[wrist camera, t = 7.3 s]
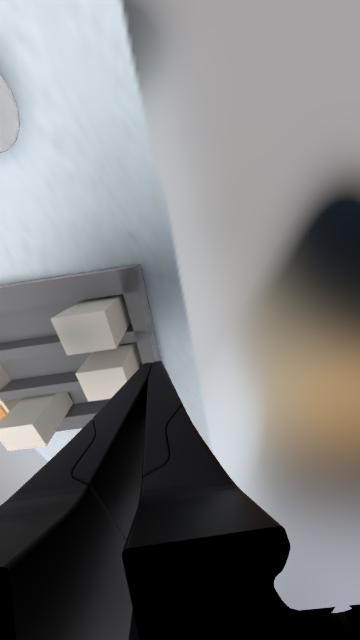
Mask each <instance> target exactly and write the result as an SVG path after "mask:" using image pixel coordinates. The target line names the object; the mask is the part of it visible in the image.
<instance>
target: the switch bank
mask: <svg viewBox="0 0 360 640" xmlns="http://www.w3.org/2000/svg"><path fill="white" fill-rule="evenodd" d="M119 294H123V295H124V299H125V303H126V306H127V310H128V314H129V318H130V321H131V323H130V325H129V326H128V328H127V330H126V332H125V334H124V336H123V337H122V339H121V341H120V343H119V344H125V343H132V342H136V343H137V347H138V351H139V355H140V358H141V363H140V367H141V366H142V365H143V364H144V363H148V362H152V363H153V362H155V361H161V358H160V353H159V349H158V344H157V339H156V335H155V330H154V326H153V321H152V316H151V312H150V307H149V303H148V298H147V293H146V289H145V284H144V280H143V275H142V270H141V266H140V264H136V265H130V266H123V267H116V268H110V269H103V270H96V271H90V272H83V273H77V274H70V275H63V276H57V277H50V278H43V279H37V280H30V281H23V282H17V283H10V284H4V285H0V420H1V419H2V418H3V417H4V416H5V415H6V414H7V413H8V412H9V411H10V410H11V409H12V408H13V407H14V406H15V405H16V404H17V403H18V402H19V401H20V400H21V399H22V398H27V397H34V396H41V395H48V394H55V393H62V392H68V394H69V396H70V398H71V400H72V402H73V405H72V406H71V408H70V409H69V411H68V413H67V414H66V416H65V417H64V419H63V420H62V422H61V424H60V425H59V427H58V428H57V430H56V431H63V430H71V429H78V428H83V427H84V426H85V425H86V424H87V423H88V422H89V421H90V420H91V419H93V417H94V416H95V415H96V414H97V413H98V412H99V411H100V409H101V408H102V407H103V406H104V405H105V404H106V403H107V402H108V401H109V400H110V399H104V400H97V401H90V402H88V400H87V398H86V396H85V394H84V391H83V389H82V387H81V385H80V383H79V381H78V378H77V376H76V374H75V373H76V372H77V371H78V369H79V368H80V367H81V365H82V364H83V363H84V361H85V360H86V359H87V358H88V356H89V355H90V354H91V352H88V353H81V354H74V355H67V354H66V352H65V350H64V348H63V346H62V343H61V341H60V339H59V337H58V335H57V332H56V330H55V328H54V326H53V324H52V322H51V318H53V317H54V316H56V315H58V314H59V313H61V312H63V311H64V310H66V309H68V308H69V307H71V306H73V305H74V304H76V303H78V302H80V301H81V300H85V299H92V298H99V297H106V296H112V295H119ZM140 367H139V368H140Z"/></svg>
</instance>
